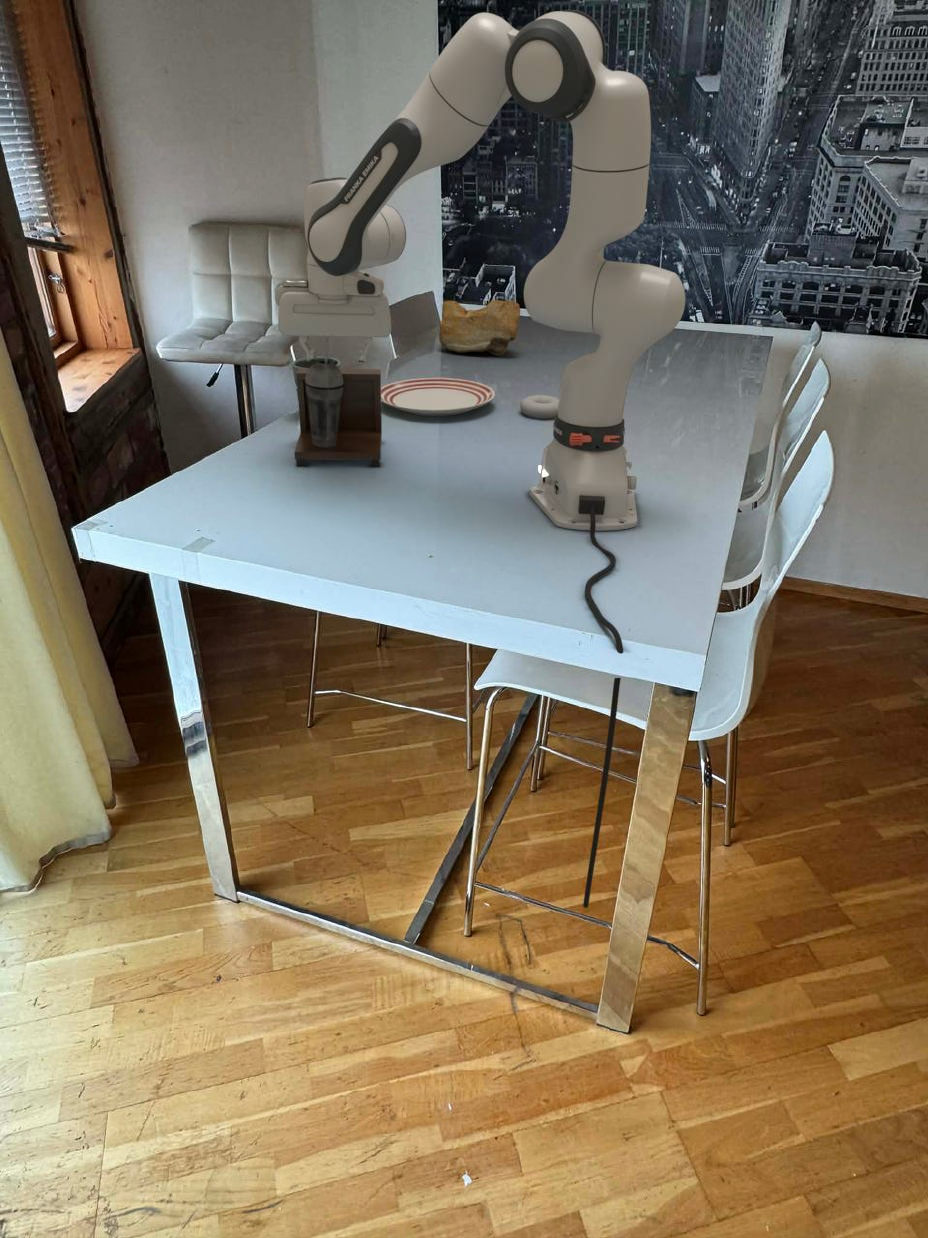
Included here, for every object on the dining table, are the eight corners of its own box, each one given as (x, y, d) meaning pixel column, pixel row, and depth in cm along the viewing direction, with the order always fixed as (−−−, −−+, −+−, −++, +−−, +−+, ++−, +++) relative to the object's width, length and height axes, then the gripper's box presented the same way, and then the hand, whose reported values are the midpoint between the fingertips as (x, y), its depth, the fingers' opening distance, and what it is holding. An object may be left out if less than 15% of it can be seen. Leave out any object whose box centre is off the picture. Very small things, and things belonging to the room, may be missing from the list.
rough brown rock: (529, 352, 249) (532, 298, 242) (513, 359, 234) (516, 302, 228) (455, 346, 255) (456, 293, 249) (435, 353, 241) (436, 297, 235)
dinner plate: (359, 416, 188) (359, 401, 186) (396, 384, 211) (396, 371, 209) (480, 428, 182) (480, 413, 181) (504, 395, 205) (505, 381, 204)
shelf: (380, 467, 160) (379, 389, 153) (295, 466, 159) (289, 389, 152) (382, 441, 173) (380, 369, 166) (303, 441, 172) (298, 368, 165)
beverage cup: (298, 445, 159) (296, 337, 149) (315, 434, 165) (314, 329, 155) (333, 452, 158) (334, 343, 148) (349, 441, 164) (351, 335, 154)
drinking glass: (351, 415, 188) (349, 360, 182) (323, 427, 180) (319, 370, 174) (315, 407, 192) (312, 354, 186) (286, 418, 184) (281, 363, 178)
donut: (516, 418, 190) (561, 422, 188) (517, 403, 188) (562, 406, 186) (522, 406, 198) (565, 409, 196) (523, 391, 196) (566, 394, 195)
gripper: (271, 282, 145) (277, 364, 152) (390, 285, 146) (391, 366, 153) (276, 276, 150) (282, 355, 157) (391, 279, 152) (392, 357, 159)
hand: (337, 360), depth 155 cm, fingers open, 8 cm apart
